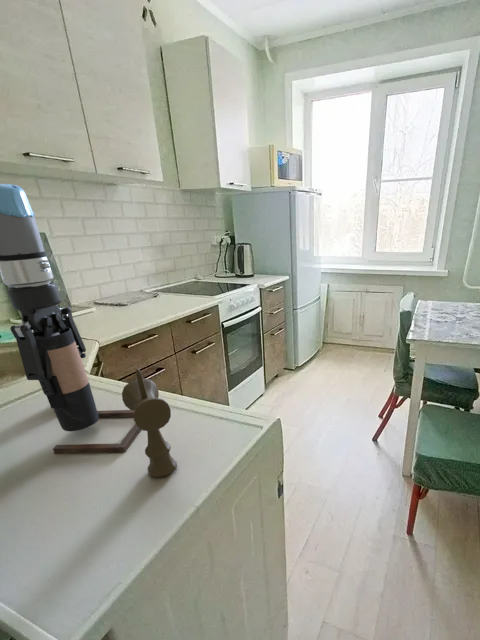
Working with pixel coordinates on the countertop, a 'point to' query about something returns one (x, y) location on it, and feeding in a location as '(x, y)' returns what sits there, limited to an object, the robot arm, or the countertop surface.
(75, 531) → the countertop surface
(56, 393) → the robot arm
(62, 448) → the frame
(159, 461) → the kendama
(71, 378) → the travel mug
